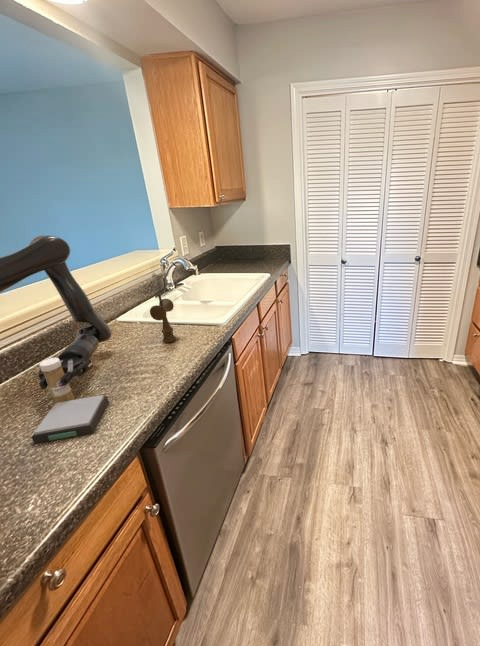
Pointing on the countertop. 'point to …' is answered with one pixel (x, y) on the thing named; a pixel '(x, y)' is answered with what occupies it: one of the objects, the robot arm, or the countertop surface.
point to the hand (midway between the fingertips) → (52, 384)
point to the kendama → (164, 317)
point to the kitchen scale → (71, 419)
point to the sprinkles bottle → (56, 380)
